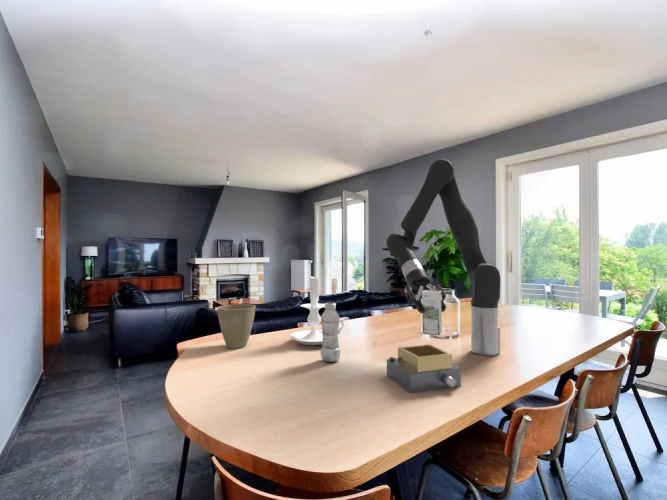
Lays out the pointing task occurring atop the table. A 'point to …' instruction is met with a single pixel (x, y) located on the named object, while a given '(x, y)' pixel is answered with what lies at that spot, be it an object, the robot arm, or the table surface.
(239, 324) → the plant pot
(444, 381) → the grey square holder
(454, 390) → the table surface
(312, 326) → the candlestick
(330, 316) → the plastic bottle
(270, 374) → the table surface
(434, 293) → the syrup box
